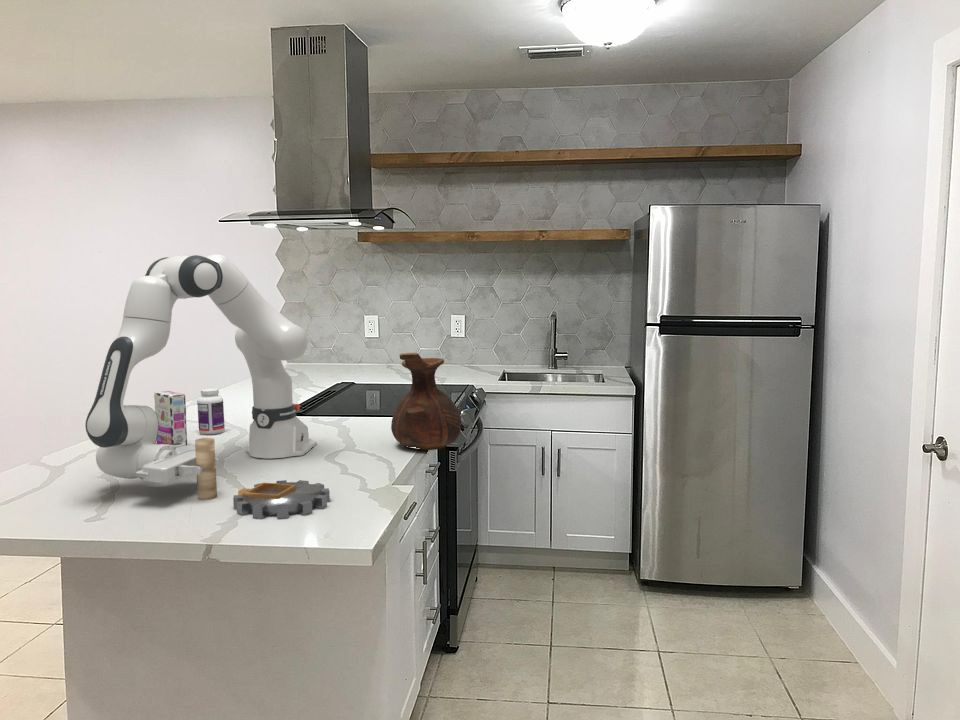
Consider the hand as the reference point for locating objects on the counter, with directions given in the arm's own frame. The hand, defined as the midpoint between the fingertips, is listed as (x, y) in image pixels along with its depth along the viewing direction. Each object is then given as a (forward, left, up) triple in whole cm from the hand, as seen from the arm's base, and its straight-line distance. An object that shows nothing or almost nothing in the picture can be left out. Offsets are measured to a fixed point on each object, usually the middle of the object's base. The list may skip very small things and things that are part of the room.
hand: (209, 466), depth 185 cm
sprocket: (0, +19, -8) cm, 21 cm away
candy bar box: (-42, -42, -8) cm, 60 cm away
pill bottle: (-61, -41, -8) cm, 74 cm away
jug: (-62, +33, -8) cm, 71 cm away
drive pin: (0, -1, -8) cm, 8 cm away
